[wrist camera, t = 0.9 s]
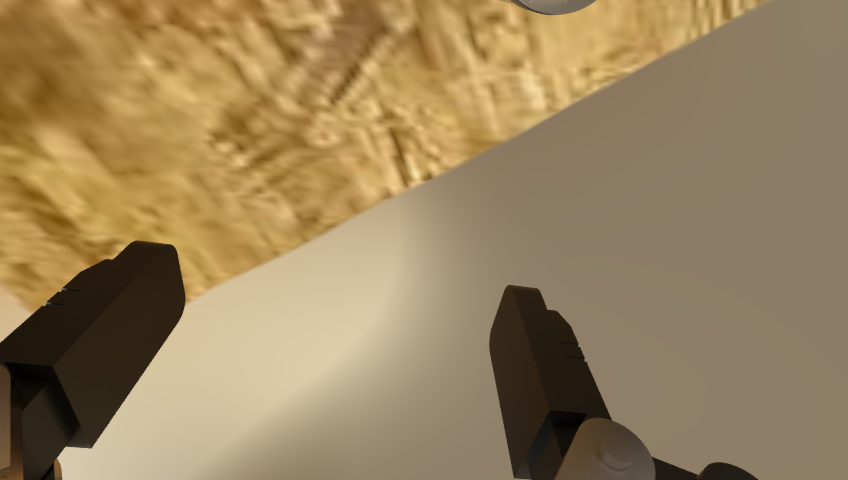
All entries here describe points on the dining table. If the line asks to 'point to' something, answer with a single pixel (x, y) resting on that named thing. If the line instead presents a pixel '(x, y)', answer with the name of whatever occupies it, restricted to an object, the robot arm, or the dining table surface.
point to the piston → (552, 5)
